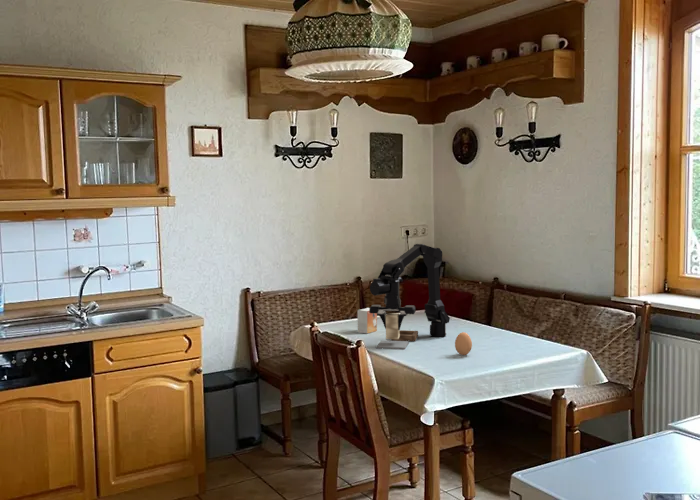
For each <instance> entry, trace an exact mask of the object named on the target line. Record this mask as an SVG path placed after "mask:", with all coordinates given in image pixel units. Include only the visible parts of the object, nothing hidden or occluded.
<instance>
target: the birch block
mask: <svg viewBox="0 0 700 500" xmlns="http://www.w3.org/2000/svg"><path fill="white" fill-rule="evenodd" d="M399 314H400V312H397V313H395V312H391V313H390V312H388V313H387V312H386V329H385V340H391V339H399V337H400V330H401V329H400V330H398V324H399Z"/></svg>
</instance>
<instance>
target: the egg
mask: <svg viewBox="0 0 700 500" xmlns="http://www.w3.org/2000/svg"><path fill="white" fill-rule="evenodd" d="M454 347H455V351H456V352H457V353H458V355H460V356H467V355H468V354H469V353H471V351H472V347H473V342H472V338H471V337H470V335H469V334H468V333H467V332H466V331H465V332H464V331H462V332H460V333H458V334H457V336H456V338H455V341H454Z"/></svg>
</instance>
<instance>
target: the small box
mask: <svg viewBox="0 0 700 500" xmlns="http://www.w3.org/2000/svg"><path fill="white" fill-rule="evenodd" d="M369 309H370V307H366V308H365V307H364V308H362V309H357V333H359V334H370V333H375V332H377V331H378V319H377V318H378V315H377V314H378V312H377V313H369Z"/></svg>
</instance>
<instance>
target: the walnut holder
mask: <svg viewBox="0 0 700 500" xmlns="http://www.w3.org/2000/svg"><path fill="white" fill-rule="evenodd" d="M418 338H419V331H418V330H401V329H400V337H399V339H390V341H409V342H416V341H417V339H418Z"/></svg>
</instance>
